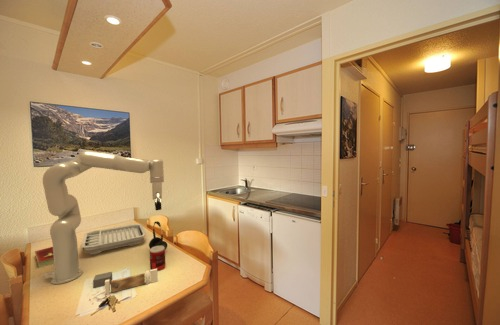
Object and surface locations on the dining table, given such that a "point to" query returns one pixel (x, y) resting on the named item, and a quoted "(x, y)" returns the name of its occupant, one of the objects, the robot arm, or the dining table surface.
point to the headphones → (157, 239)
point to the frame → (148, 275)
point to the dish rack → (112, 238)
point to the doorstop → (101, 279)
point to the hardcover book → (45, 257)
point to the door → (127, 282)
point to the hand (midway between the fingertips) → (158, 207)
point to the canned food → (157, 258)
